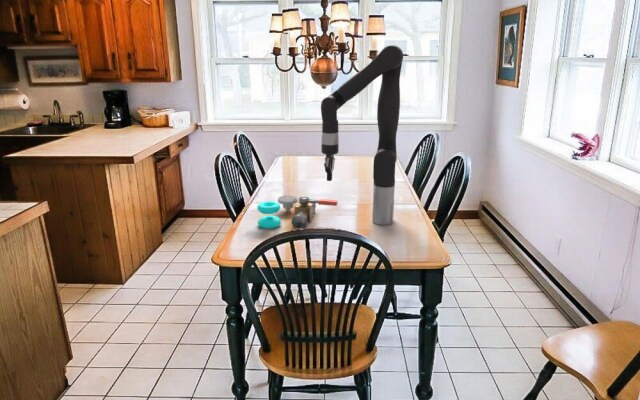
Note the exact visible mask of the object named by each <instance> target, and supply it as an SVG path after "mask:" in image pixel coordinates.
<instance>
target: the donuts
mask: <svg viewBox="0 0 640 400" xmlns="http://www.w3.org/2000/svg"><path fill="white" fill-rule="evenodd" d="M256 209H257V211H258V212H259V213H260V214H263V215H264V216H262V217H260V218H259V219H258V221H257V225H258V227H260V228H262V229H265V230H267V229H269V230H271V229H276V228H278V227H280V226H281V223H282V221H281V218H279V217H278V216H275V215H273V214H275V213H278V212H279V211H280V209H281V203H279V202H278V201H271V200H270V201H267V200H266V201H262V202H260V203H258V205H257V207H256Z"/></svg>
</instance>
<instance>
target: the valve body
mask: <svg viewBox="0 0 640 400" xmlns="http://www.w3.org/2000/svg"><path fill="white" fill-rule="evenodd" d="M316 204H317V203H309V204H305V205H303V204H299V201H298V202H297V203H295V206H294V215H293V217H292V218H291V225H292V227H294V228H295V229H301V228H307V227H308V223H309V224H311V222H312V220H313V219H314V217H315V214H316V207H317V205H316Z"/></svg>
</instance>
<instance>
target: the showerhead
mask: <svg viewBox="0 0 640 400" xmlns="http://www.w3.org/2000/svg"><path fill="white" fill-rule="evenodd" d="M298 202H299V198H298V197H297V196H295V195H292V194H291V195H287V194H286V195H280V196H278V198H277V203H279V204H280V205H282V207H283V209H285V212H287V213H288V212H291V209H293V207H294V204H297V203H298Z"/></svg>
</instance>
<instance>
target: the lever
mask: <svg viewBox="0 0 640 400" xmlns="http://www.w3.org/2000/svg"><path fill="white" fill-rule="evenodd" d="M298 202H299V204H303V205H305V204H309V203H315V204H317V205H319V206H335V207H336V206H338V202H339V201H338V199H328V198H327V199H326V198H319V199H314V198H313V199H311V198H310V197H308V196H300V197H299V198H298Z"/></svg>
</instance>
